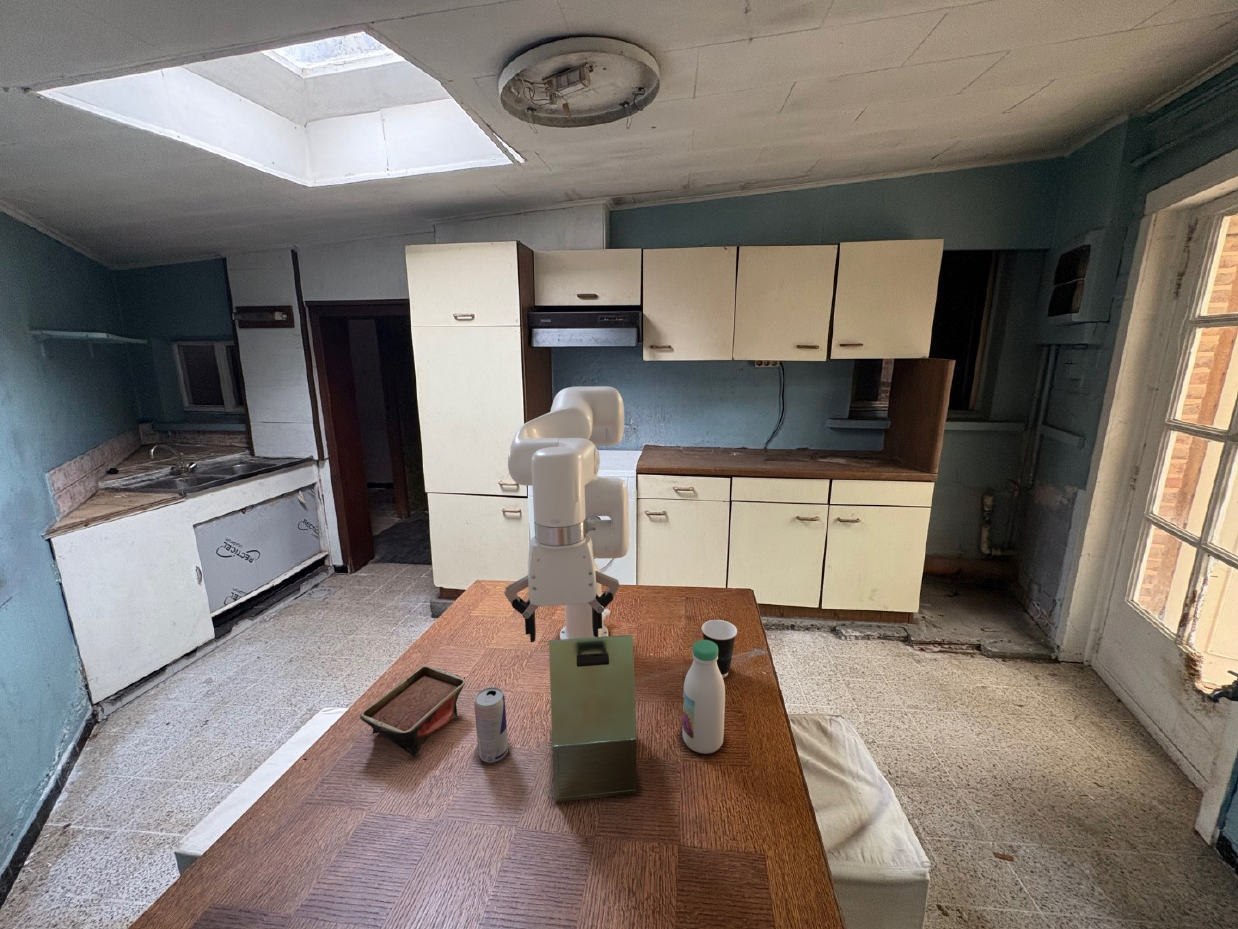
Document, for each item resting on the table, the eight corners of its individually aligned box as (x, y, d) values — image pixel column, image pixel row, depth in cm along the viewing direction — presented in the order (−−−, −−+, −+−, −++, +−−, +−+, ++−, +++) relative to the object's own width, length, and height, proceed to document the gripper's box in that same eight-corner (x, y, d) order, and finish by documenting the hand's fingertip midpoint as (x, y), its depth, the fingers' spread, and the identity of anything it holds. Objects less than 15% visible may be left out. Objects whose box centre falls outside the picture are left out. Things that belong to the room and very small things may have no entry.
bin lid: (549, 640, 81) (547, 650, 76) (632, 634, 82) (636, 644, 77) (552, 743, 80) (551, 760, 75) (636, 735, 82) (640, 751, 77)
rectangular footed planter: (474, 722, 103) (473, 675, 103) (400, 773, 88) (399, 718, 87) (425, 705, 110) (424, 660, 110) (348, 750, 94) (347, 698, 94)
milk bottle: (725, 729, 98) (729, 638, 93) (720, 759, 91) (724, 662, 86) (686, 720, 100) (688, 631, 96) (678, 749, 93) (680, 653, 89)
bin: (556, 732, 98) (554, 684, 95) (625, 726, 99) (624, 678, 97) (555, 802, 83) (552, 747, 80) (636, 793, 84) (636, 739, 82)
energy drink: (512, 742, 95) (508, 687, 93) (503, 765, 90) (498, 707, 87) (484, 740, 96) (480, 685, 93) (474, 763, 91) (469, 705, 88)
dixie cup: (703, 658, 120) (704, 617, 118) (737, 665, 118) (739, 622, 115) (697, 678, 113) (698, 635, 111) (732, 686, 111) (734, 641, 108)
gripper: (615, 519, 79) (616, 618, 82) (503, 525, 77) (509, 626, 80) (621, 536, 71) (622, 644, 75) (498, 543, 69) (505, 653, 73)
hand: (564, 634), depth 78 cm, fingers open, 9 cm apart
